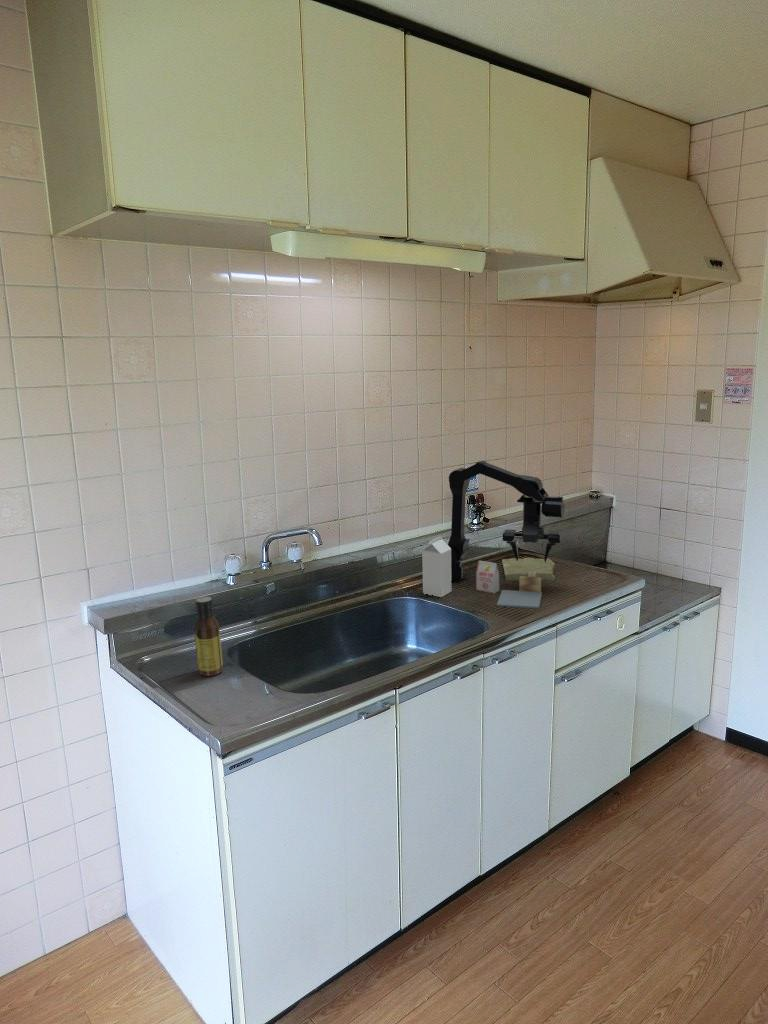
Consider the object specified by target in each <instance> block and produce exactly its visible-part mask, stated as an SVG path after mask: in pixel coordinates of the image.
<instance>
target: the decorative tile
mask: <svg viewBox="0 0 768 1024" xmlns="http://www.w3.org/2000/svg"><path fill="white" fill-rule="evenodd" d="M501 561H502V568H503V569H504V570H503V569H502V570H503V574H504V579H505V581H519V578H520V576H524V577H528V573H529V571H536V577H541V581H554V580H556V577H555V574H554V573H555V565H556V563H555V562H554V561H553V560H552V559H550V558H547V560H546V562H545V558H534V557H524V558H518V561H517V560H516V557H514V558H513V557H512V558H508V559H507V558H503V559H502V560H501ZM553 572H554V573H553Z"/></svg>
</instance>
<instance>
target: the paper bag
mask: <svg viewBox="0 0 768 1024" xmlns="http://www.w3.org/2000/svg"><path fill="white" fill-rule="evenodd" d="M498 568H499V567H498V563H497V562H492V561H491V562H490V561H484V560H478V561H477V568H476V572H475V590H476V591H477V590H479V591H478V592H482V591H484V593H489V594H496V593H498V592H500V572H499V569H498Z"/></svg>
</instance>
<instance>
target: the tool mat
mask: <svg viewBox="0 0 768 1024" xmlns="http://www.w3.org/2000/svg"><path fill="white" fill-rule="evenodd" d="M542 596H543V592H542V591H541V592H531V591H519V590H512V589H510V590H509V589H507V590H506V589H501V591H500V595H499V597H498V600H497V603H496V606H497V607H502V606H503V607H504V606H506V608H520V609H521V608H522V609H535V610H536V609H537V610H539V609H540V604H541V601H542Z"/></svg>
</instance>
